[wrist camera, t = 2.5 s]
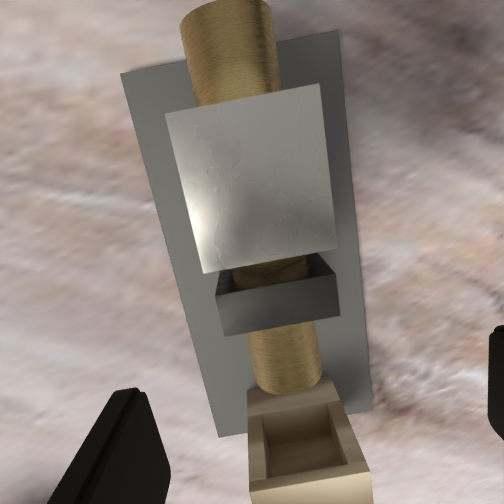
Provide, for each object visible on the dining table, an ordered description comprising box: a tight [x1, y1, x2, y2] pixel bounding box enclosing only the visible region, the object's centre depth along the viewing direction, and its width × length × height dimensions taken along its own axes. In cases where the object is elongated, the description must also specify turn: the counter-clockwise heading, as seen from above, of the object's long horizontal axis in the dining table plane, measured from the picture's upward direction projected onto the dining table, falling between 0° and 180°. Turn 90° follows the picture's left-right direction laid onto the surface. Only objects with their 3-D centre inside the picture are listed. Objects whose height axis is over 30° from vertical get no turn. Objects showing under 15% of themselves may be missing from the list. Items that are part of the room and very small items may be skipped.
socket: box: [247, 376, 374, 504], centre depth 21 cm, size 4×7×8 cm, turn 101°
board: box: [120, 30, 373, 438], centre depth 22 cm, size 28×13×1 cm, turn 11°
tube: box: [180, 0, 341, 396], centre depth 16 cm, size 18×5×6 cm, turn 11°
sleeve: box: [165, 83, 338, 274], centre depth 16 cm, size 6×6×8 cm
